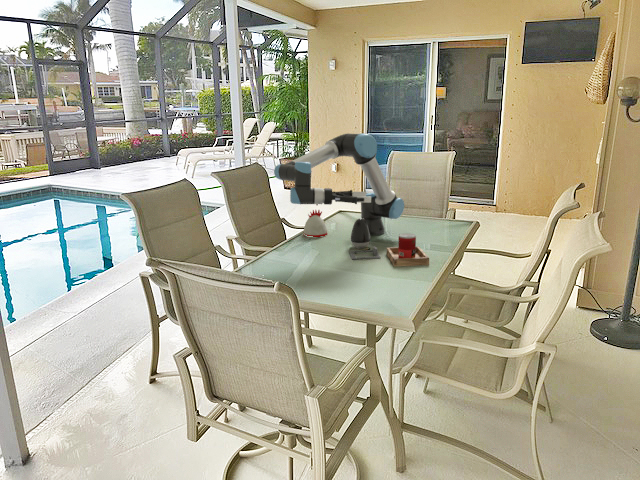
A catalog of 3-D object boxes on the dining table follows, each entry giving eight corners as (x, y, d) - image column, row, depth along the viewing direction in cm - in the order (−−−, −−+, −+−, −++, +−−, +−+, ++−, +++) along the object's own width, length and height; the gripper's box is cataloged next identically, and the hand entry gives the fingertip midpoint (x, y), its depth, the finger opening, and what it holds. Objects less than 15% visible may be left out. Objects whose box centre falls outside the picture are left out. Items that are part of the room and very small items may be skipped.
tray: (386, 254, 242) (386, 247, 241) (418, 252, 242) (418, 246, 241) (394, 266, 222) (394, 259, 221) (429, 264, 223) (429, 257, 222)
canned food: (415, 260, 228) (415, 237, 225) (398, 259, 229) (398, 237, 226) (415, 255, 235) (415, 233, 232) (398, 255, 236) (398, 233, 233)
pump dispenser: (373, 245, 258) (373, 217, 254) (366, 250, 249) (366, 221, 245) (355, 243, 262) (354, 215, 258) (347, 248, 253) (347, 220, 249)
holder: (349, 251, 248) (349, 245, 247) (376, 250, 248) (376, 244, 247) (352, 259, 234) (351, 252, 233) (380, 258, 235) (380, 251, 234)
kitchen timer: (330, 236, 279) (329, 210, 275) (306, 238, 276) (305, 212, 272) (324, 231, 292) (323, 206, 288) (301, 233, 289) (300, 208, 285)
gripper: (320, 199, 241) (363, 200, 243) (325, 209, 217) (372, 210, 219) (321, 184, 239) (364, 185, 241) (326, 192, 215) (373, 193, 217)
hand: (368, 197), depth 230 cm, fingers open, 13 cm apart
